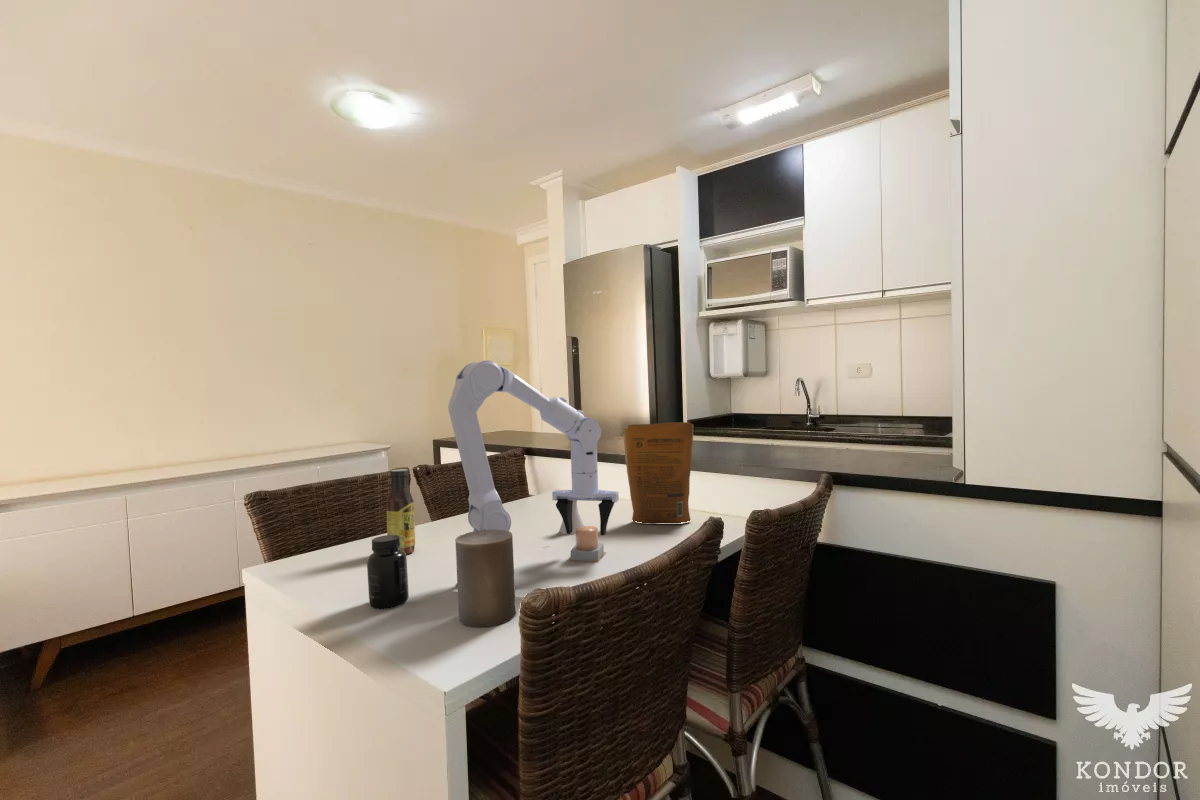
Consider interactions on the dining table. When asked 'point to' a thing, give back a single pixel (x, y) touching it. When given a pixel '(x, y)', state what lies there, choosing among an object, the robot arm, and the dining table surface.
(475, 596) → the pillar candle
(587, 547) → the terracotta cylinder
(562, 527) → the flask
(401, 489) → the sauce bottle
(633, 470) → the pancake mix bag
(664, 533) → the dining table surface
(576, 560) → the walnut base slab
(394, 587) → the supplement bottle
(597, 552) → the slate top block
